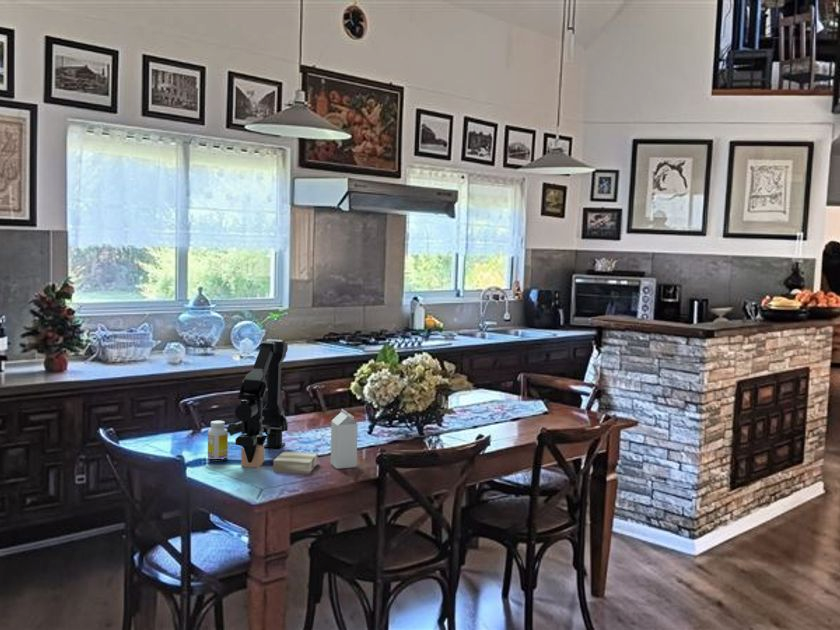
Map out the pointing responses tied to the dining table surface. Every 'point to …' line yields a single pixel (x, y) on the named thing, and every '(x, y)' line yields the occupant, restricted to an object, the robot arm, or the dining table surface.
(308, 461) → the birch block
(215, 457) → the supplement bottle
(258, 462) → the tan cube
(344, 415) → the milk carton
